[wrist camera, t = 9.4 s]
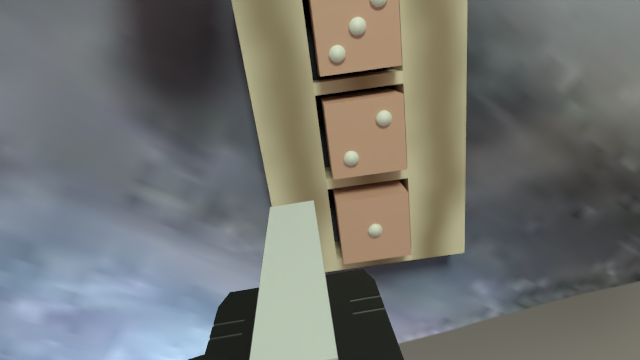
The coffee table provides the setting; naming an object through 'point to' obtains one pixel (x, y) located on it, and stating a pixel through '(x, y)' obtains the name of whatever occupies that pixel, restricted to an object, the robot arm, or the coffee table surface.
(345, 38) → the tile three pips
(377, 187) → the tile one pip
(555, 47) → the coffee table surface
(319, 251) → the robot arm
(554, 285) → the coffee table surface
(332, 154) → the tile two pips
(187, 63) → the coffee table surface
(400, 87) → the board
